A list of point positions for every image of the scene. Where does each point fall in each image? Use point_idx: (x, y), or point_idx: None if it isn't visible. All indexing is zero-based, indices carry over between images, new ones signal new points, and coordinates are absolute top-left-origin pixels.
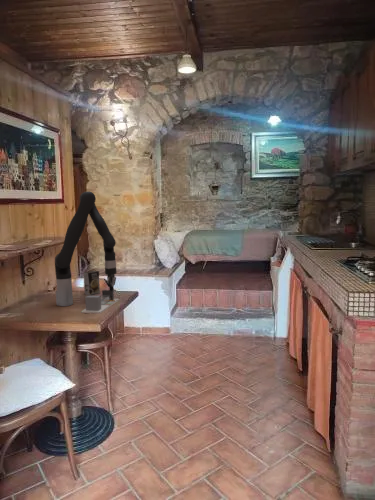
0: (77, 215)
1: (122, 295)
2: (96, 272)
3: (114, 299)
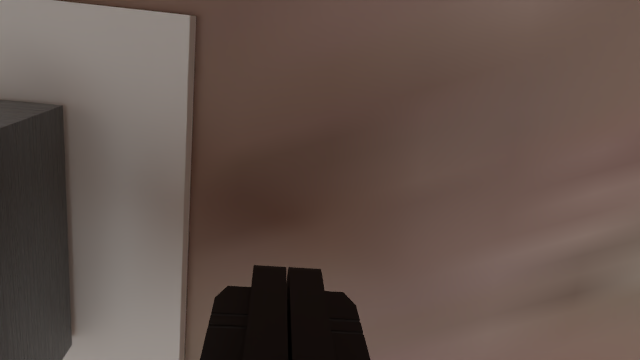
0: None
1: (558, 346)
2: None
3: (95, 344)
